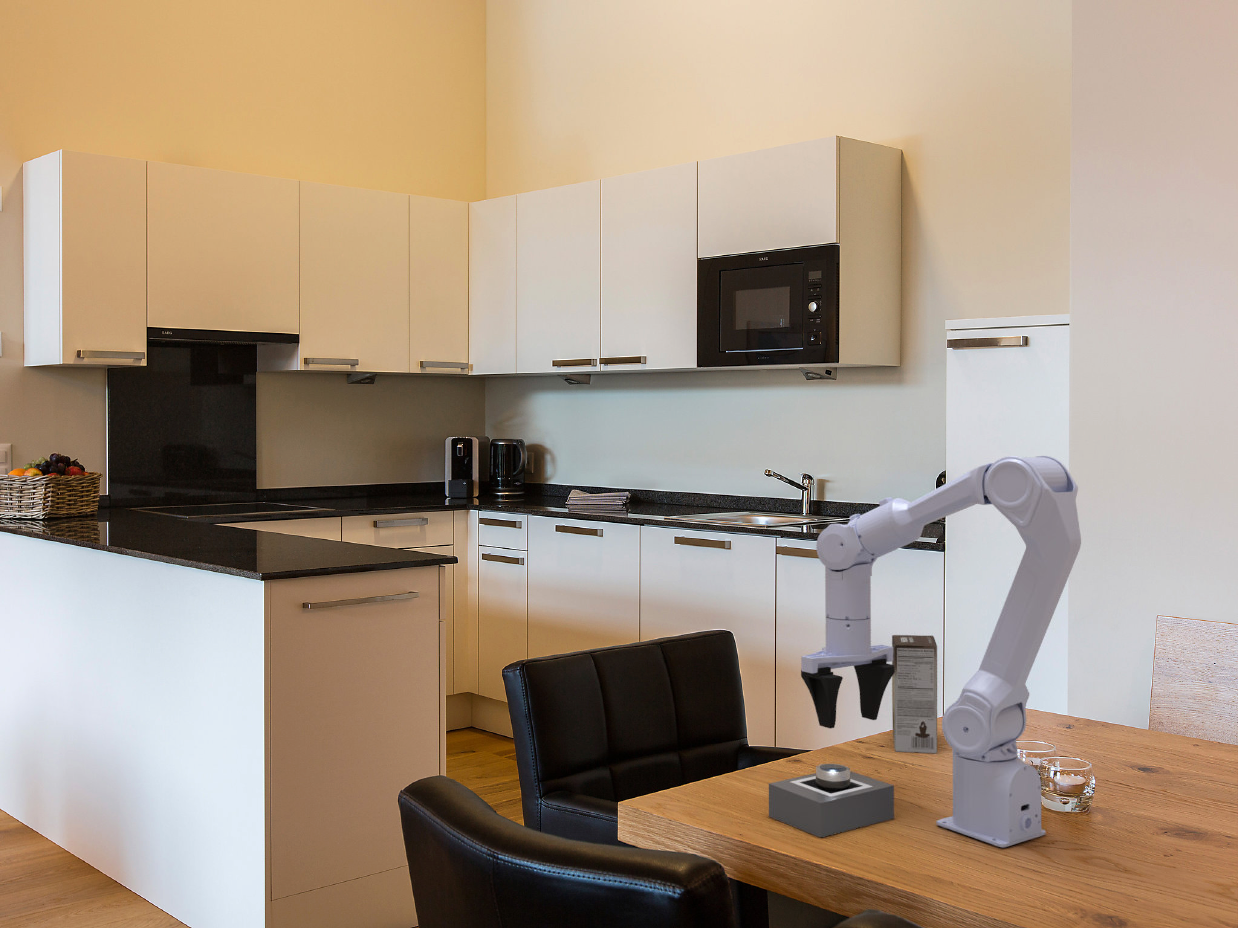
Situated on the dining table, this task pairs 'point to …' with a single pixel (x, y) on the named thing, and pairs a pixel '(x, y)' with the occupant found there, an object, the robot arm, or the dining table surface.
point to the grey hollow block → (830, 804)
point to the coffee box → (914, 693)
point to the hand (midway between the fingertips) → (848, 722)
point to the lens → (832, 778)
